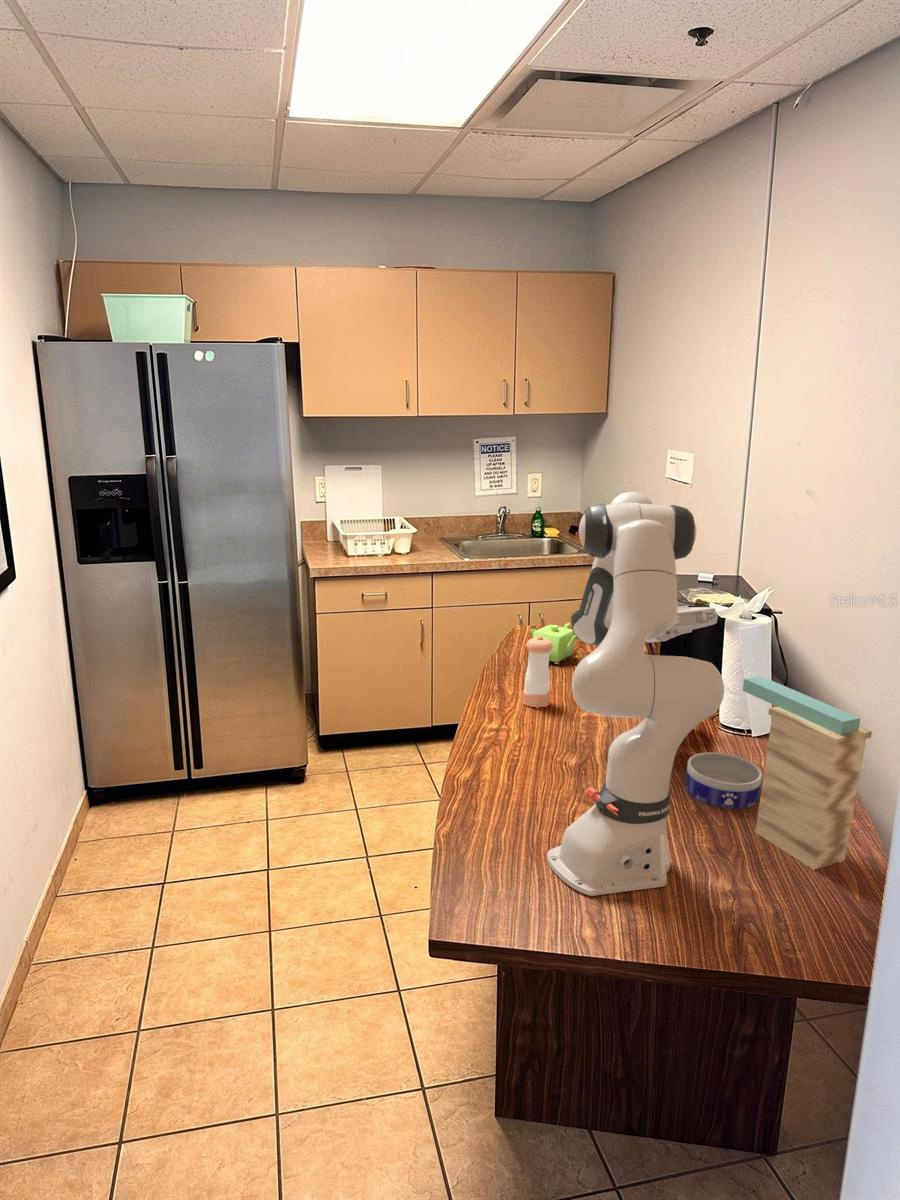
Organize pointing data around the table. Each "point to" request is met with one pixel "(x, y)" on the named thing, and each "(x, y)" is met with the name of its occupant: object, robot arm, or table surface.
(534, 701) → the salt shaker
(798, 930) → the table surface
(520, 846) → the table surface
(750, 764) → the dog bowl
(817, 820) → the beige block
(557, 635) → the kettle
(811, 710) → the slat
